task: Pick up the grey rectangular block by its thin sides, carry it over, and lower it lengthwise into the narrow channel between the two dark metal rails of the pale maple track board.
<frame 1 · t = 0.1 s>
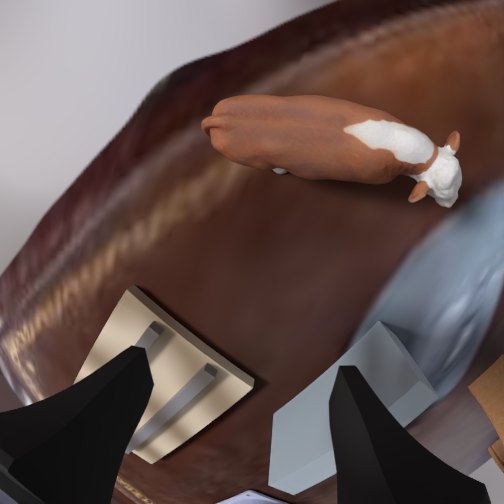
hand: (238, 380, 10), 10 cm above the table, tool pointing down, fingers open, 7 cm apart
bull figurine: (325, 156, 18), on the table
grey rectangular block: (333, 379, 21), on the table
track board: (143, 392, 23), on the table
arch: (496, 409, 21), on the table
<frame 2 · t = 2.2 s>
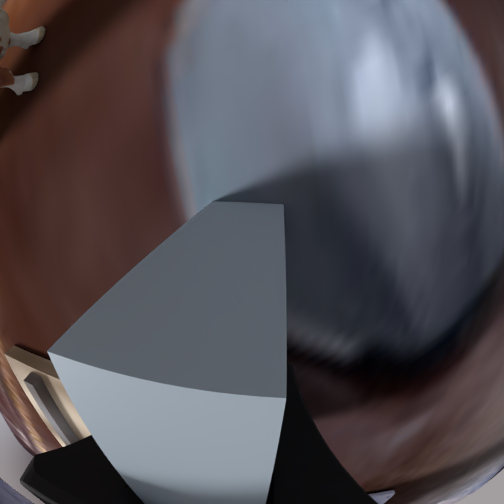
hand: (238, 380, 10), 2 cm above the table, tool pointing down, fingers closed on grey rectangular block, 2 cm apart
bull figurine: (15, 92, 9), on the table
grey rectangular block: (245, 346, 12), on the table, touching gripper
track board: (109, 444, 17), on the table
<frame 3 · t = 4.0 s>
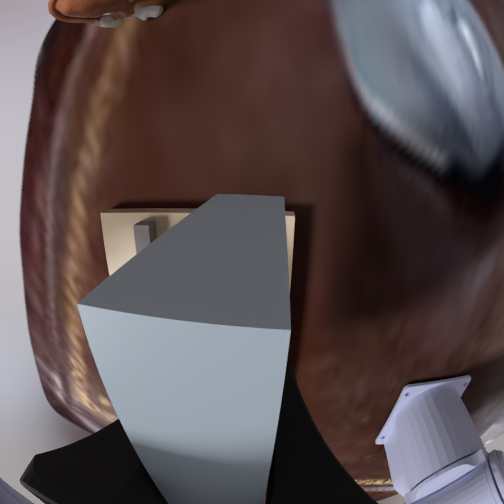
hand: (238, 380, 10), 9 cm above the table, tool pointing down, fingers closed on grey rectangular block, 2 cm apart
grey rectangular block: (247, 334, 12), point 6 cm above the table, touching gripper
track board: (201, 332, 20), on the table
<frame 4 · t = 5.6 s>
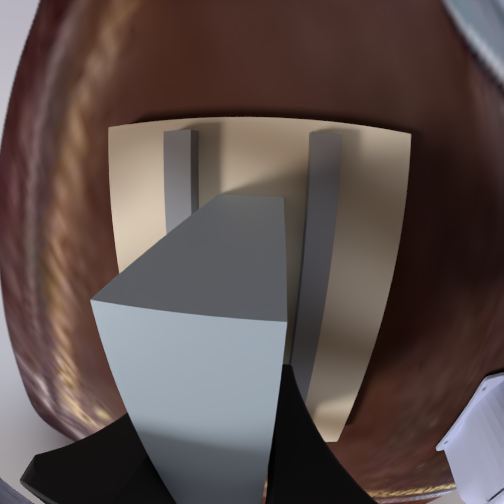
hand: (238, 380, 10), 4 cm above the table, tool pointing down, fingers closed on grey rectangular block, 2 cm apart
grey rectangular block: (247, 331, 13), point 1 cm above the table, touching gripper, track board
track board: (250, 318, 14), on the table
when the fingers open (4 cm above the table, at t = 6.1 s): grey rectangular block stays where it is, resting on track board.
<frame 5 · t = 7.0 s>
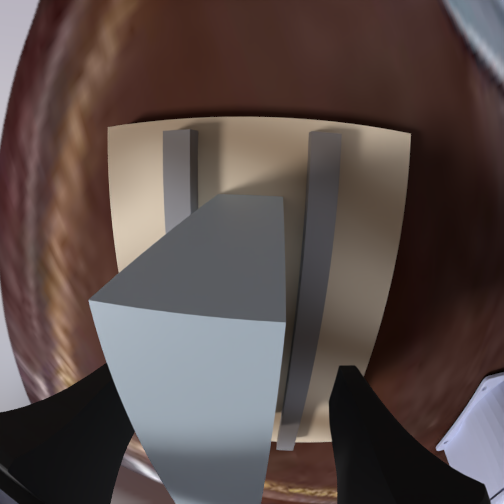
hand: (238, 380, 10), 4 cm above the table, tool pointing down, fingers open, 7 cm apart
grey rectangular block: (247, 331, 13), point 1 cm above the table, touching track board
track board: (250, 318, 14), on the table
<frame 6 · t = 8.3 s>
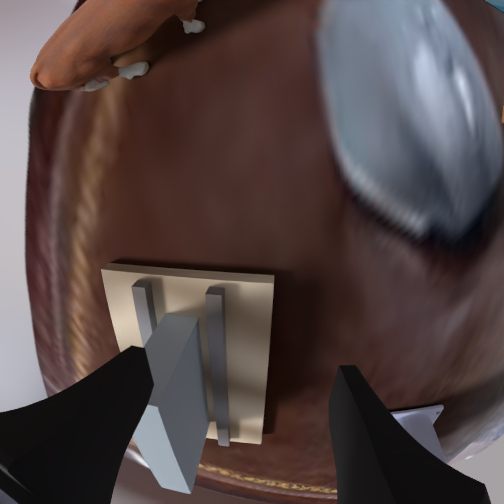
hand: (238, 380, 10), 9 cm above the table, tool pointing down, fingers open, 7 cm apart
bull figurine: (171, 32, 14), on the table
grey rectangular block: (190, 377, 21), point 1 cm above the table, touching track board
track board: (194, 368, 22), on the table
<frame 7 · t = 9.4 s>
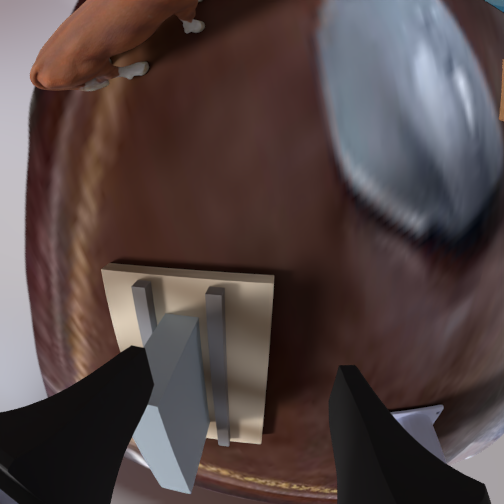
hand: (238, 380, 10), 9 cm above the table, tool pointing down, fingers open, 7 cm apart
bull figurine: (171, 32, 14), on the table
grey rectangular block: (190, 377, 21), point 1 cm above the table, touching track board
track board: (194, 368, 22), on the table
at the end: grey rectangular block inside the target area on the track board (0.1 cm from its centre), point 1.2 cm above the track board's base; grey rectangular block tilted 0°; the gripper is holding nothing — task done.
